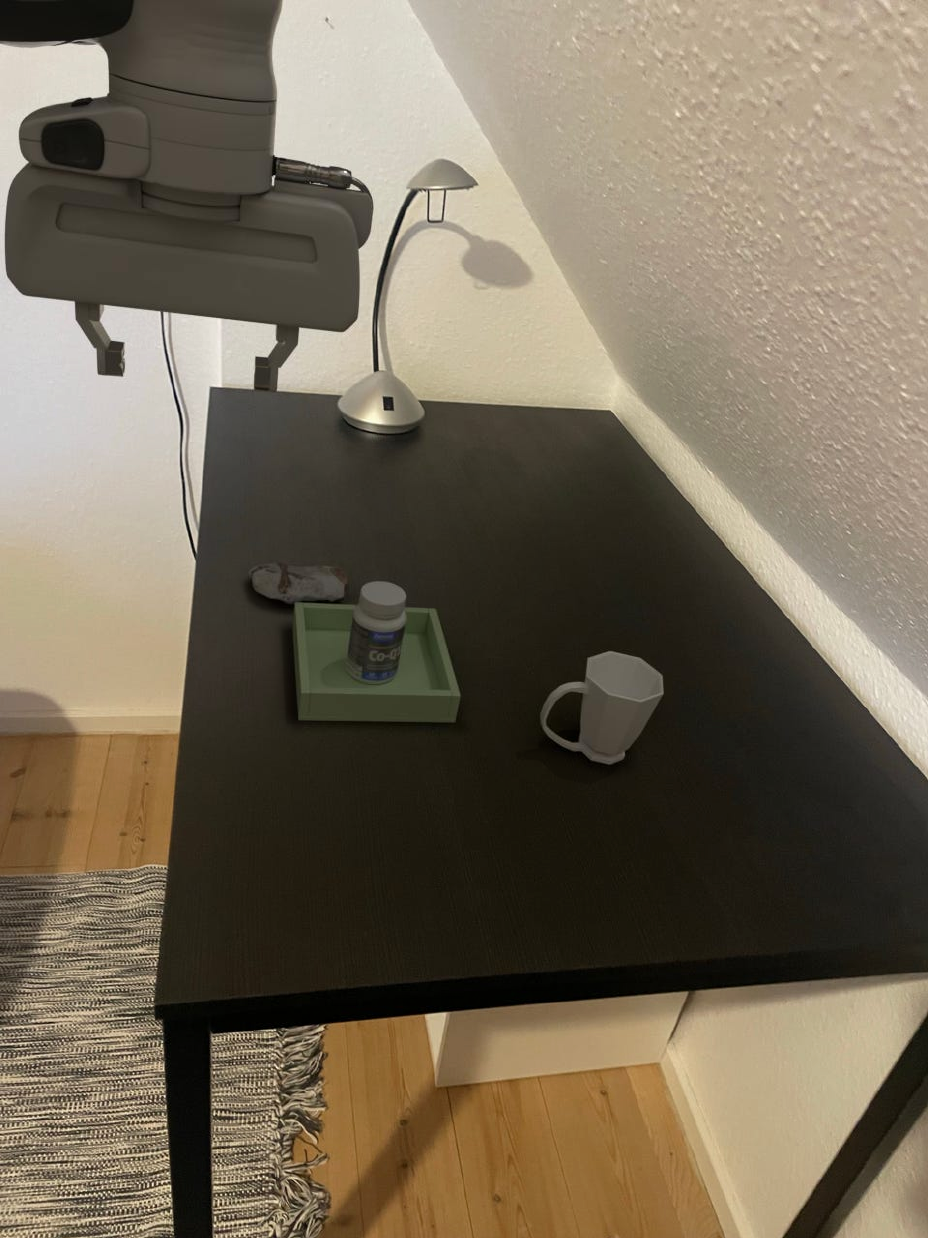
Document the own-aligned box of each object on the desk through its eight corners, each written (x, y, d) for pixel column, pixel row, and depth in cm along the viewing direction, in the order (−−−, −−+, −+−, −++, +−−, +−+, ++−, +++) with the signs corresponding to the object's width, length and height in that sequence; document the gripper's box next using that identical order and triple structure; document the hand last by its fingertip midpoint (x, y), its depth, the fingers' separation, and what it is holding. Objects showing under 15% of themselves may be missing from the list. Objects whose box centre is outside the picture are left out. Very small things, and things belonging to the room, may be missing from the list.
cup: (652, 773, 82) (680, 700, 77) (544, 778, 79) (567, 702, 74) (622, 720, 87) (646, 650, 83) (520, 723, 84) (540, 650, 80)
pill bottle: (367, 692, 83) (379, 613, 79) (335, 664, 86) (344, 586, 81) (408, 675, 86) (421, 598, 82) (375, 649, 89) (387, 573, 84)
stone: (255, 614, 91) (257, 591, 90) (245, 574, 97) (246, 551, 95) (352, 611, 94) (355, 589, 93) (337, 572, 100) (339, 551, 99)
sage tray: (298, 720, 79) (301, 692, 78) (292, 628, 90) (294, 601, 89) (455, 722, 83) (461, 696, 81) (431, 633, 94) (435, 608, 92)
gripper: (371, 163, 58) (348, 379, 65) (10, 105, 53) (28, 346, 60) (383, 183, 53) (356, 415, 60) (-16, 120, 48) (8, 382, 55)
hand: (189, 380), depth 60 cm, fingers open, 8 cm apart
